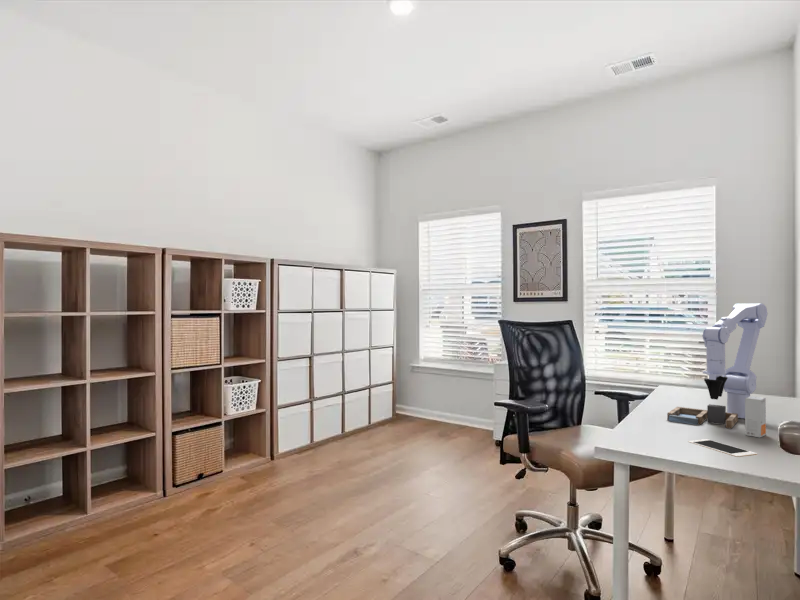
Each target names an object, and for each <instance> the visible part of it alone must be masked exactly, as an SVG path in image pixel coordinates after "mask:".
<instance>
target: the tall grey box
mask: <svg viewBox="0 0 800 600" xmlns="http://www.w3.org/2000/svg"><path fill="white" fill-rule="evenodd" d="M726 408H727V405H718V404H711V403H709V404H708V405H707V407H706V410H707V412H708V418H707V423H708V424H709V423H710V424H717V425H723V426H724V425H726V412H727V409H726Z"/></svg>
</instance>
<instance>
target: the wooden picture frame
mask: <svg viewBox="0 0 800 600" xmlns="http://www.w3.org/2000/svg"><path fill="white" fill-rule="evenodd" d="M666 414H667V421H668V422H673V423H682V424H689V425H695V426H697V425H702V424H703V423H704V422H705V421H706V420H708V412H707V409H699V408H691V407H684V406H683V407H682V406H676V407H675V408H673V409H671V410H670V411H669V412H667V413H666ZM738 421H739V418H738V414H736V413H727V411H726V423H725V428H726V429H733V427H734V426H735V425H736V423H738Z"/></svg>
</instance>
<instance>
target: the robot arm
mask: <svg viewBox="0 0 800 600" xmlns="http://www.w3.org/2000/svg"><path fill="white" fill-rule="evenodd" d="M731 311H732V312H731V313H730V314H729V315H728V316H722V317H721V318H720V319H719V320H718V321H717V322H715V324H713V325H712V326H707V327H706V328H704V329H703V332H702V339H703V343H704V347H705V350H706V352H705V353H706V370H703V371H702V374H704V375H705V374H706V375H708V378H704V380H703V381H704V383H705V384H706V385H705V386H707V389H708V393H709V394H708V395H709V397H710V399H711V400H719V397H723V392H725V393H726V408H727V409H726V412H727V413H736V414H738V419H744V420H745V398H747V397H751V395H752V394H753V393H754V392H755V390H756V388H757V375H756V374H755V372H753V371H752V370H751V366H752V363H753V362H752V361H753V359H754V355H755V351H756V348H757V347H756V346H757V344H758V343H757V342H758V339H759V335H760V333H761V332H760V331H761V329H763V328H764V327H765V324H766V323H767V318H768V314H769V313H768V308H767V306H766V305H765V303H763V302H760V303H738V302H737V303H735V304H734V305H733V306H732V310H731ZM737 326H738V327H740V328H742V329H743V331H742V334H741V338H740V341H739V345H738V349H737V353H736V356H735V360H734V364H733V365H732V366H730V367H728V368H726V343H728V341H729V338H730V335H731V333H732V332H733V331H735V330H736V328H737Z"/></svg>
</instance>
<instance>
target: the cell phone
mask: <svg viewBox="0 0 800 600" xmlns="http://www.w3.org/2000/svg"><path fill="white" fill-rule="evenodd" d="M687 442H688V443H690V444H694V445H697V446H700V447H703V448H707V449H710V450H713V451H716V452H719V453H722V454H723V453H724V454H727V455H729V456H731V457H737V458H738V457H739V458H741V457H747V456H748V457H749V456H757V455H758V453H757V452H753V451H750V450H747V449H744V448H740V447H736V446H733V445H731V444H727V443H722V442H720V441H716V440H712V439H709V438H708V439H707V438H703V439H694V440H688V441H687Z"/></svg>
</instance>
